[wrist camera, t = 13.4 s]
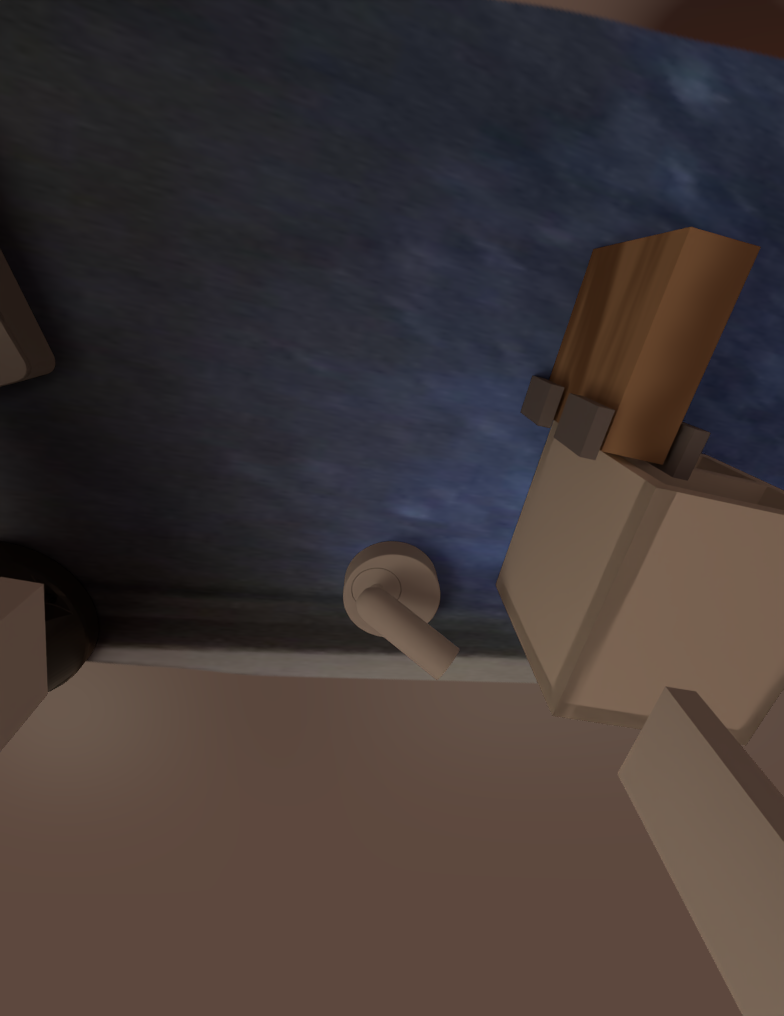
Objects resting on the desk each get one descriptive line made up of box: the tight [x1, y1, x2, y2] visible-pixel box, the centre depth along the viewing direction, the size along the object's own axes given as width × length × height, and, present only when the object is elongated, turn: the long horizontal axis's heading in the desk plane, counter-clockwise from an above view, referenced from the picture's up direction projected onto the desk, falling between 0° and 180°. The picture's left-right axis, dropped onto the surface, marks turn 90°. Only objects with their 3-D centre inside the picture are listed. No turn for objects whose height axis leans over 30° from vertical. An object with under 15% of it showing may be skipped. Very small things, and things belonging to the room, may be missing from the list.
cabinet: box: [496, 376, 784, 746], centre depth 37 cm, size 17×19×16 cm
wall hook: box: [343, 541, 459, 680], centre depth 42 cm, size 9×10×10 cm
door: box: [549, 227, 761, 465], centre depth 33 cm, size 5×12×12 cm, turn 167°
